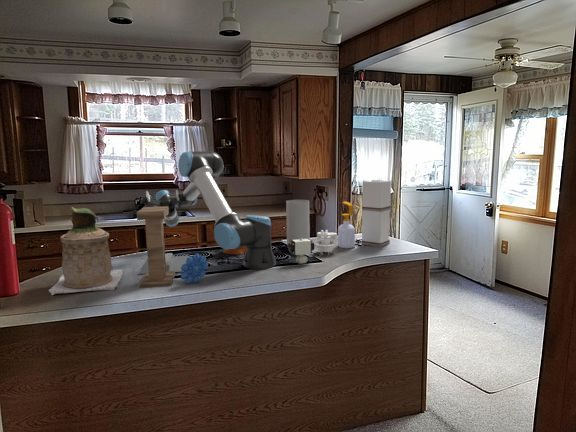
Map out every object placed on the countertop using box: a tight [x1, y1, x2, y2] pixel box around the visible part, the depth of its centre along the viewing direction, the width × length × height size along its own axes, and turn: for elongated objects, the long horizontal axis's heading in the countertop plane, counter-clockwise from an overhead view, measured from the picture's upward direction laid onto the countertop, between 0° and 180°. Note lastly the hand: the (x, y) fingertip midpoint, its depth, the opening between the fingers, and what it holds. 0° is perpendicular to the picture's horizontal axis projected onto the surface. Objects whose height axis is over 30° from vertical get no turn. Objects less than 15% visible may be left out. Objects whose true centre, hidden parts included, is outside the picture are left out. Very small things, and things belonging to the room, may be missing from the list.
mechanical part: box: [314, 229, 338, 256], centre depth 214 cm, size 11×12×12 cm
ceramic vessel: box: [222, 246, 246, 256], centre depth 223 cm, size 14×26×15 cm, turn 153°
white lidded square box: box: [361, 179, 392, 248], centre depth 232 cm, size 11×11×35 cm
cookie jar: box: [48, 207, 123, 296], centre depth 170 cm, size 25×25×32 cm
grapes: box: [180, 253, 209, 284], centre depth 171 cm, size 12×7×12 cm, turn 124°
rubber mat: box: [137, 255, 191, 276], centre depth 198 cm, size 28×20×1 cm
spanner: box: [165, 252, 174, 271], centre depth 198 cm, size 22×6×2 cm, turn 9°
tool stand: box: [136, 206, 176, 288], centre depth 172 cm, size 16×12×30 cm
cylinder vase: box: [285, 199, 311, 247], centre depth 230 cm, size 12×12×25 cm
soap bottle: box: [337, 200, 356, 249], centre depth 227 cm, size 9×9×25 cm
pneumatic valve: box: [287, 238, 316, 265], centre depth 197 cm, size 6×12×12 cm, turn 109°
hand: (161, 193), depth 196 cm, fingers open, 13 cm apart
